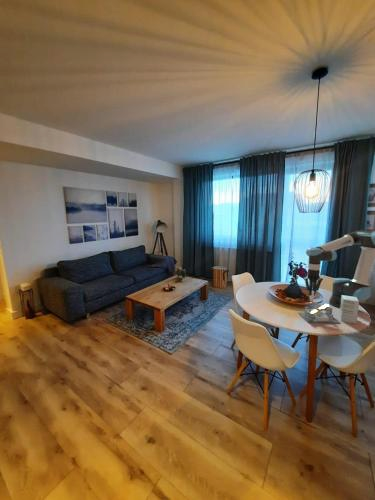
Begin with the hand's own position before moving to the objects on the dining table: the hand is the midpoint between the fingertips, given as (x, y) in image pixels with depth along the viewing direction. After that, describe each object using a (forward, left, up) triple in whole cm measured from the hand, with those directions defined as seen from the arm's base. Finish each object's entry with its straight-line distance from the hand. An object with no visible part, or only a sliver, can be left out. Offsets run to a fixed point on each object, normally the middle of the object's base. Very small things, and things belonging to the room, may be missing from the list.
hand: (311, 299), depth 156 cm
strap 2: (-2, +8, -5) cm, 10 cm away
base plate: (-4, +4, -13) cm, 14 cm away
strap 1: (-6, 0, -5) cm, 8 cm away
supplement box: (-24, +5, -13) cm, 28 cm away
